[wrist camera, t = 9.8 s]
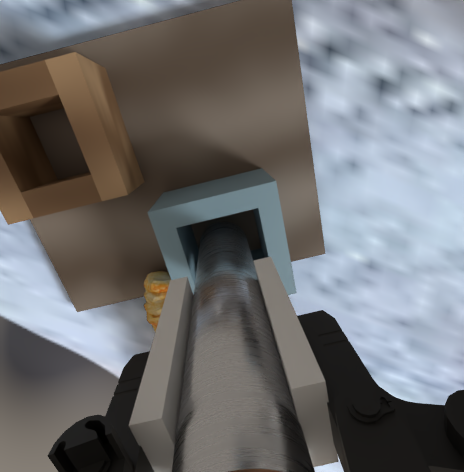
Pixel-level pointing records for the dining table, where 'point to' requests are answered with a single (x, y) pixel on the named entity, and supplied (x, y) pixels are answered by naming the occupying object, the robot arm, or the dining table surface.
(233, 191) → the socket
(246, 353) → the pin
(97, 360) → the dining table surface
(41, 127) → the board
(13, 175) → the mount
